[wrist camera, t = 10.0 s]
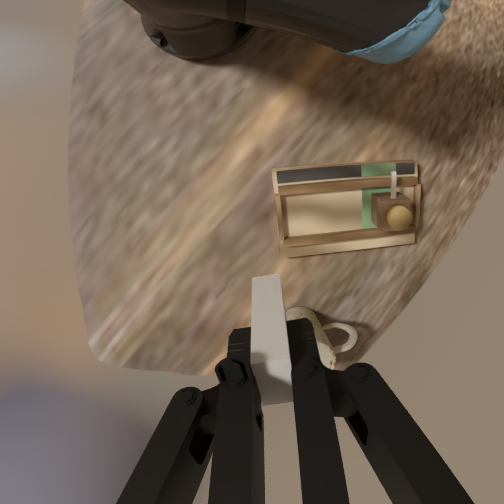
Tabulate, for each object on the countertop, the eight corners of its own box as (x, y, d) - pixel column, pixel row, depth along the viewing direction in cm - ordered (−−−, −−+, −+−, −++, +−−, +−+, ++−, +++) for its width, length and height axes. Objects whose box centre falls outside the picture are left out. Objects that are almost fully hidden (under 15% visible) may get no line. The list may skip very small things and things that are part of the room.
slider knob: (370, 167, 38) (386, 176, 33) (397, 166, 38) (416, 174, 33) (371, 221, 41) (385, 236, 36) (397, 219, 41) (414, 233, 36)
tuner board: (271, 168, 40) (272, 172, 38) (412, 159, 39) (420, 162, 37) (280, 253, 45) (281, 261, 43) (410, 239, 44) (417, 245, 42)
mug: (267, 305, 48) (270, 347, 39) (347, 289, 47) (366, 329, 38) (276, 345, 52) (279, 389, 43) (349, 331, 51) (365, 372, 42)
